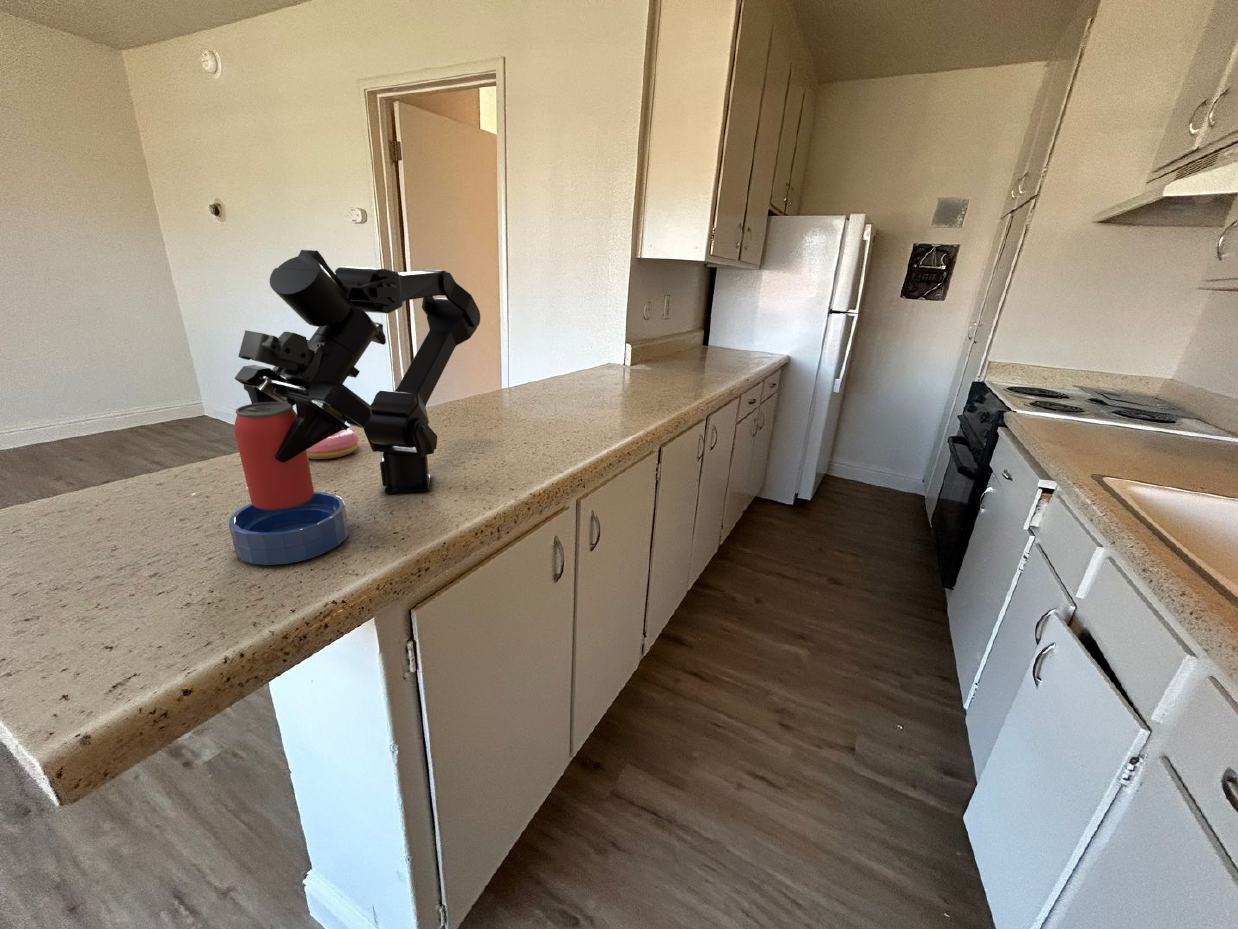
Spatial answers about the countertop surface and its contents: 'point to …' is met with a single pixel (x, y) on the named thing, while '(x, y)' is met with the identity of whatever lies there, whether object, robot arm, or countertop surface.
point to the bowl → (289, 531)
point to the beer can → (271, 457)
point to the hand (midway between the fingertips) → (261, 454)
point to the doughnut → (334, 446)
